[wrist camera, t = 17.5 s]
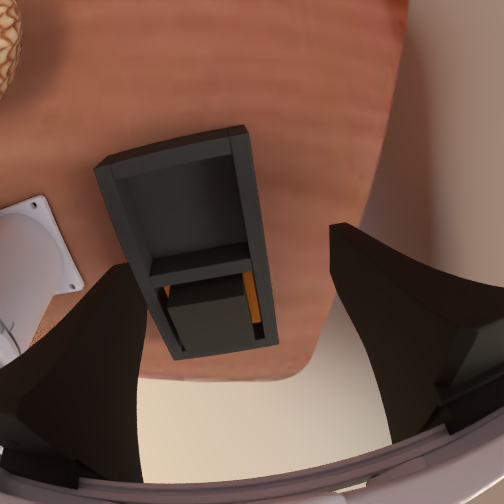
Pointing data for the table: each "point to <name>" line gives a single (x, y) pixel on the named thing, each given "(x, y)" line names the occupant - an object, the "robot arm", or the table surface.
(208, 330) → the black pad
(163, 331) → the socket pad
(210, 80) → the table surface
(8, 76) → the acorn
